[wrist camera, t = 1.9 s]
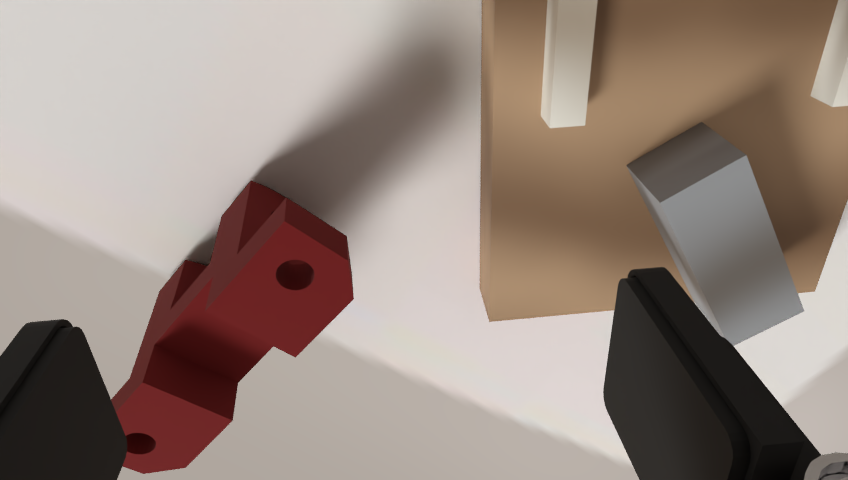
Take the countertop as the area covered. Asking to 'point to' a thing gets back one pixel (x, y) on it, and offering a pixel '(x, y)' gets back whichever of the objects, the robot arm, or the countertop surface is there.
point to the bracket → (229, 324)
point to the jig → (661, 153)
